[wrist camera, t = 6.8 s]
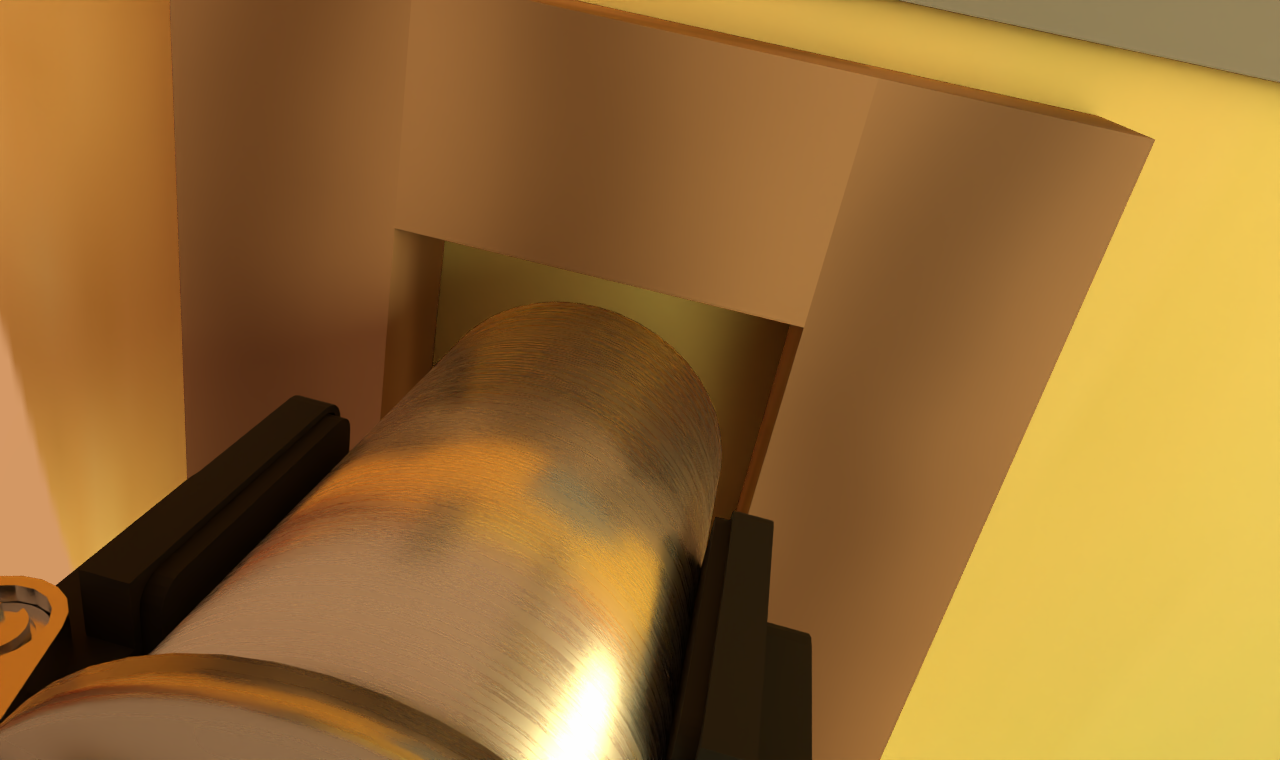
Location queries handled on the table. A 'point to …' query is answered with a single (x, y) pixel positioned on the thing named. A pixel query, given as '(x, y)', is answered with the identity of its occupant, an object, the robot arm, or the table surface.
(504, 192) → the brown wooden square frame
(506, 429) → the end cap
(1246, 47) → the rubber mat
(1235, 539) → the table surface
